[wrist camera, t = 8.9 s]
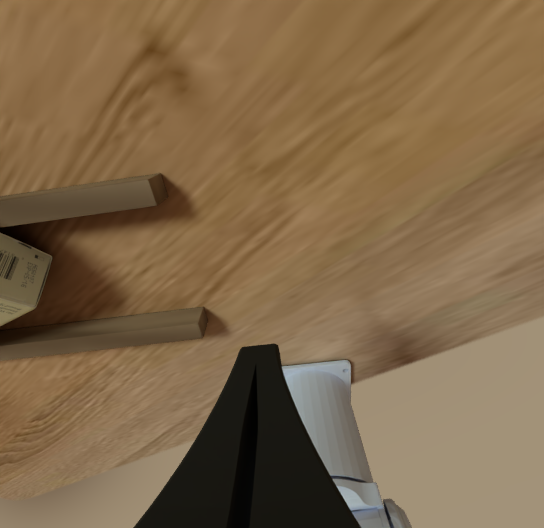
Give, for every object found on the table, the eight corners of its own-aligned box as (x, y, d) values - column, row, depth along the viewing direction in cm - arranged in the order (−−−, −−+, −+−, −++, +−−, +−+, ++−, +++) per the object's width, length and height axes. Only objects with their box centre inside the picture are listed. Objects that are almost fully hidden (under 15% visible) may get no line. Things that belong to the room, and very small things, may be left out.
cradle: (207, 321, 22) (202, 338, 21) (-53, 351, 24) (-79, 369, 22) (160, 173, 17) (147, 179, 15) (-179, 222, 18) (-227, 233, 16)
